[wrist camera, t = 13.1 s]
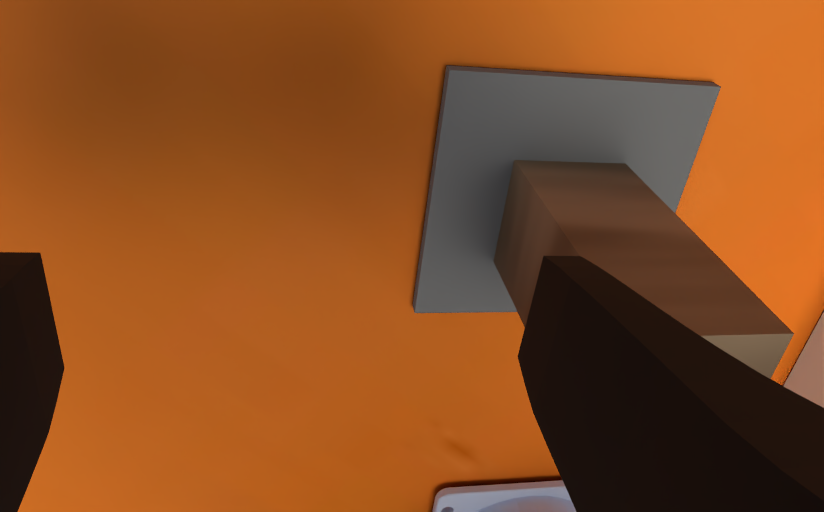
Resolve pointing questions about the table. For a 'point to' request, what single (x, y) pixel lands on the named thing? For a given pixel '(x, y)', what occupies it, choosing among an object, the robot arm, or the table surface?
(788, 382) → the button base
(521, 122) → the rubber pad
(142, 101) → the table surface
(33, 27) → the table surface
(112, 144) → the table surface
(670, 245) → the walnut peg
